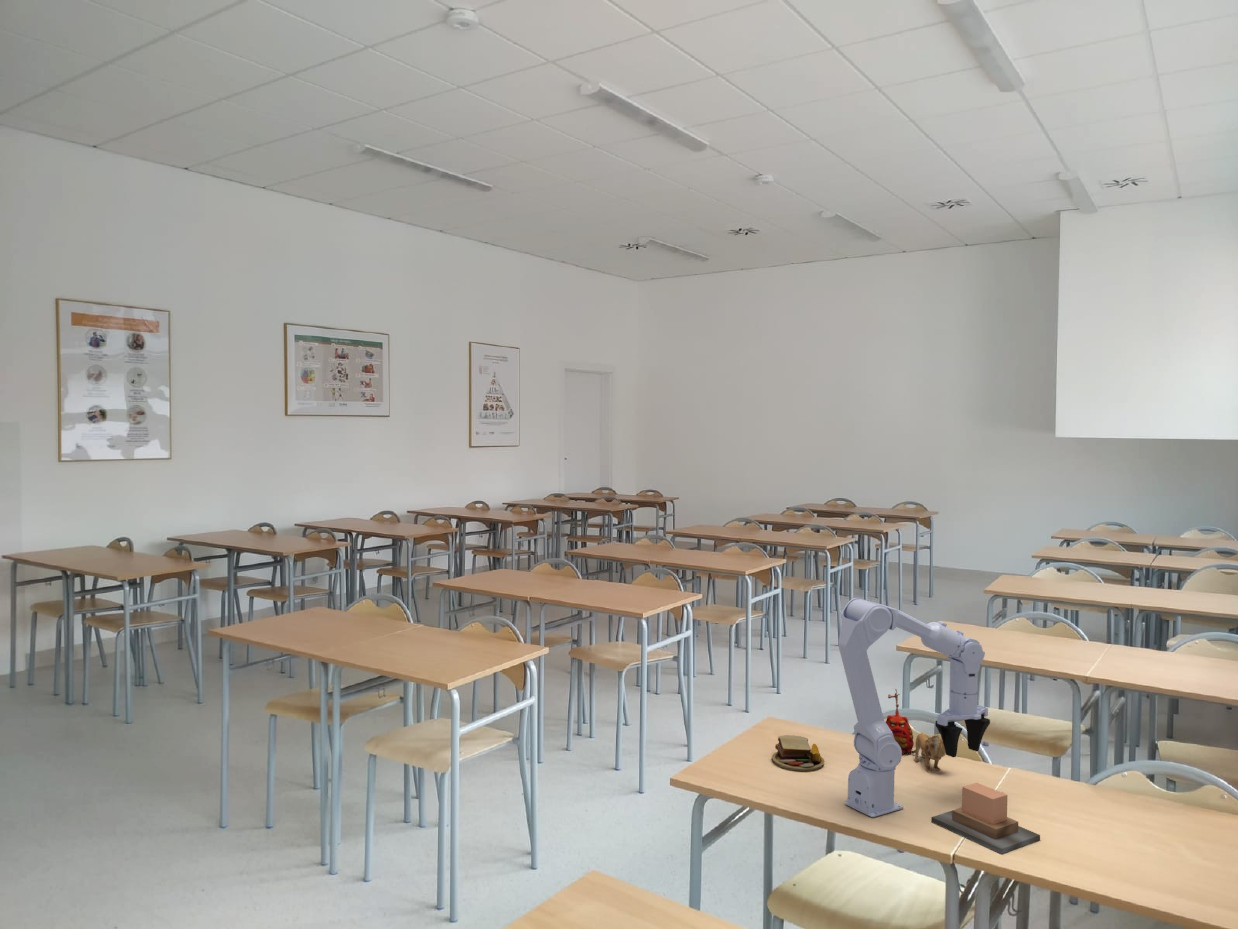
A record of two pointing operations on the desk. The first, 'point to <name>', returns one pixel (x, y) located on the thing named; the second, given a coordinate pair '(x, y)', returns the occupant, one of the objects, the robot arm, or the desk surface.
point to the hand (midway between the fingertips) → (962, 753)
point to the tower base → (987, 840)
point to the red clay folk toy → (900, 729)
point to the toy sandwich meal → (797, 754)
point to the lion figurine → (929, 749)
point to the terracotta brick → (984, 803)
